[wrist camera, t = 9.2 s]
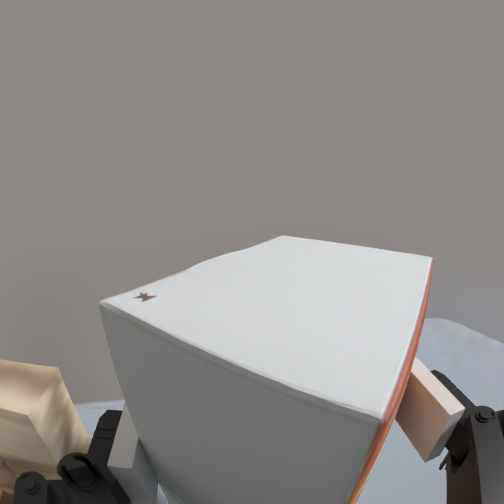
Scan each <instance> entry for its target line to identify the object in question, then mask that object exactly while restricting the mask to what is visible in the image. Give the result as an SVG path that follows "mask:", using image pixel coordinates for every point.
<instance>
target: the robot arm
mask: <svg viewBox="0 0 504 504" xmlns="http://www.w3.org/2000/svg"><path fill="white" fill-rule="evenodd" d="M395 419H396V421H397V422H398V424H399V425H400V427H401V428H402V430H403V431H404V432H405V434H406V435H407V437H408V438H409V440H410V441H411V443H412V444H413V446H414V447H415V449H416V450H417V451H418V453H419V454H420V456H421V457H422V459H423V460H424V462H427V461H429V460H431V459H434V458H436V457H438V456H440V454H441V452H442V451H443V449H444V447H446V448H447V449H448V451H449V452H448V453H447V455H446V457H445V458H444V460H443V461H442V463H441V464H440V467H439V470H441V469H442V468H443V466H444V465H445V463H446V467H445V470H446V474H447V504H504V410H501V411H496V412H495V411H494V410H493V409H492V408H489V407H487V406H477V407H476V406H475V405H474V404H473V403H472V402H471V401H470V400H469V399H468V398H467V397H466V396H465V395H464V394H463V393H462V392H461V391H460V390H459V389H458V388H456V386H455V385H454V384H453V383H451V381H450V380H449V379H448V378H447V377H446V376H445V375H444V374H442V373H440V372H438V371H436V370H433V371H429V370H428V369H427V368H426V367H425V366H424V365H423V364H422V363H421V362H420V361H419V360H418V359H417V358H416V357H415V359H414V362H413V366H412V370H411V373H410V376H409V380H408V383H407V386H406V389H405V392H404V395H403V398H402V401H401V404H400V406H399V409H398V412H397V414H396V417H395ZM57 473H58V474H59V476H60V477H61V478H62V479H58V480H46V479H45V478H44V476H43V475H41V474H40V473H38V472H34V471H28V472H24V473H22V474H21V475H20V476H19V477H18V478H17V479H16V482H15V487H14V496H13V504H129V503H130V501H131V503H132V504H156V500H157V489H158V480H157V478H156V476H155V474H154V472H153V469H152V467H151V465H150V463H149V460H148V458H147V456H146V453H145V451H144V449H143V446H142V444H141V441H140V439H139V436H138V434H137V431H136V428H135V426H134V423H133V421H132V418H131V415H130V413H129V410H128V407H127V404H126V402H125V405H124V408H123V411H118V410H107V411H106V412H105V413H104V414H103V415H102V416H101V417H100V418H99V421H98V424H97V426H96V430H95V432H94V435H93V438H92V440H91V443H90V446H89V449H88V452H87V454H84V453H80V452H76V453H70V454H68V455H65V456H64V457H63V458H62V459H61V460H60V461H59V463H58V465H57Z"/></svg>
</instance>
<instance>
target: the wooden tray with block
mask: <svg viewBox="0 0 504 504" xmlns="http://www.w3.org/2000/svg"><path fill="white" fill-rule="evenodd" d="M90 443H91V439H90V438H89V436H88V434H87V432H86V430H85V428H84V426H83V424H82V422H81V420H80V418H79V416H78V414H77V412H76V409H75V407H74V405H73V403H72V401H71V398H70V396H69V394H68V392H67V389H66V387H65V384H64V382H63V379H62V377H61V374H60V372H59V369H58V368H57V367H49V366H40V365H32V364H26V363H19V362H12V361H6V360H1V359H0V456H1V457H2V459H3V460H4V461H3V463H2V465H1V467H0V504H13V496H14V487H15V482H16V479H17V478H18V477H19V476H20V475H21V474H22V473H24V472H28V471H34V472H38V473H40V474H41V475H43V476H44V478H45V479H46V480H58V479H62V478H61V477H60V476H59V474H58V473H57V465H58V463H59V461H60V460H61V459H62V458H63V457H64V456H65V455H68V454H70V453H76V452H80V453H84V454H87V452H88V449H89V446H90ZM129 504H132V503H131V501H130V503H129Z"/></svg>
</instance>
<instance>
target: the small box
mask: <svg viewBox="0 0 504 504" xmlns="http://www.w3.org/2000/svg"><path fill="white" fill-rule="evenodd" d="M432 270H433V258H431V257H427V256H421V255H415V254H409V253H402V252H395V251H388V250H381V249H375V248H369V247H362V246H356V245H348V244H342V243H335V242H327V241H320V240H312V239H304V238H297V237H290V236H279V237H277V238H275V239H272V240H269V241H267V242H264V243H261V244H258V245H256V246H253V247H250V248H247V249H244V250H241V251H236V252H232V253H228V254H225V255H222V256H218V257H215V258H213V259H210V260H207V261H204V262H201V263H199V264H197V265H195V266H193V267H191V268H188V269H186V270H184V271H182V272H179V273H177V274H175V275H172V276H169V277H166V278H164V279H161V280H158V281H155V282H153V283H150V284H147V285H145V286H142V287H139V288H137V289H134V290H131V291H128V292H125V293H122V294H120V295H117V296H113V297H110V298H107V299H104V300H102V301H101V302H100V303H99V308H100V312H101V317H102V321H103V326H104V330H105V334H106V338H107V342H108V346H109V349H110V353H111V356H112V360H113V363H114V367H115V370H116V373H117V377H118V380H119V383H120V386H121V390H122V392H123V396H124V399H125V401H126V404H127V407H128V410H129V413H130V415H131V418H132V421H133V423H134V426H135V428H136V431H137V434H138V436H139V439H140V441H141V444H142V446H143V449H144V451H145V453H146V456H147V458H148V460H149V463H150V465H151V467H152V469H153V472H154V474H155V476H156V478H157V480H158V482H159V485H160V487H161V489H162V491H163V493H164V495H165V497H166V498H167V500H168V502H169V504H355V502H356V501H357V499H358V497H359V495H360V493H361V491H362V489H363V488H364V486H365V484H366V482H367V480H368V478H369V476H370V474H371V472H372V470H373V468H374V465H375V463H376V461H377V459H378V457H379V455H380V452H381V450H382V448H383V446H384V443H385V441H386V439H387V436H388V434H389V431H390V429H391V427H392V424H393V422H394V419H395V417H396V414H397V412H398V409H399V406H400V404H401V401H402V398H403V395H404V392H405V389H406V386H407V383H408V380H409V376H410V373H411V370H412V366H413V362H414V359H415V355H416V351H417V347H418V344H419V339H420V335H421V331H422V327H423V322H424V318H425V313H426V307H427V302H428V295H429V290H430V284H431V277H432Z"/></svg>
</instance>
